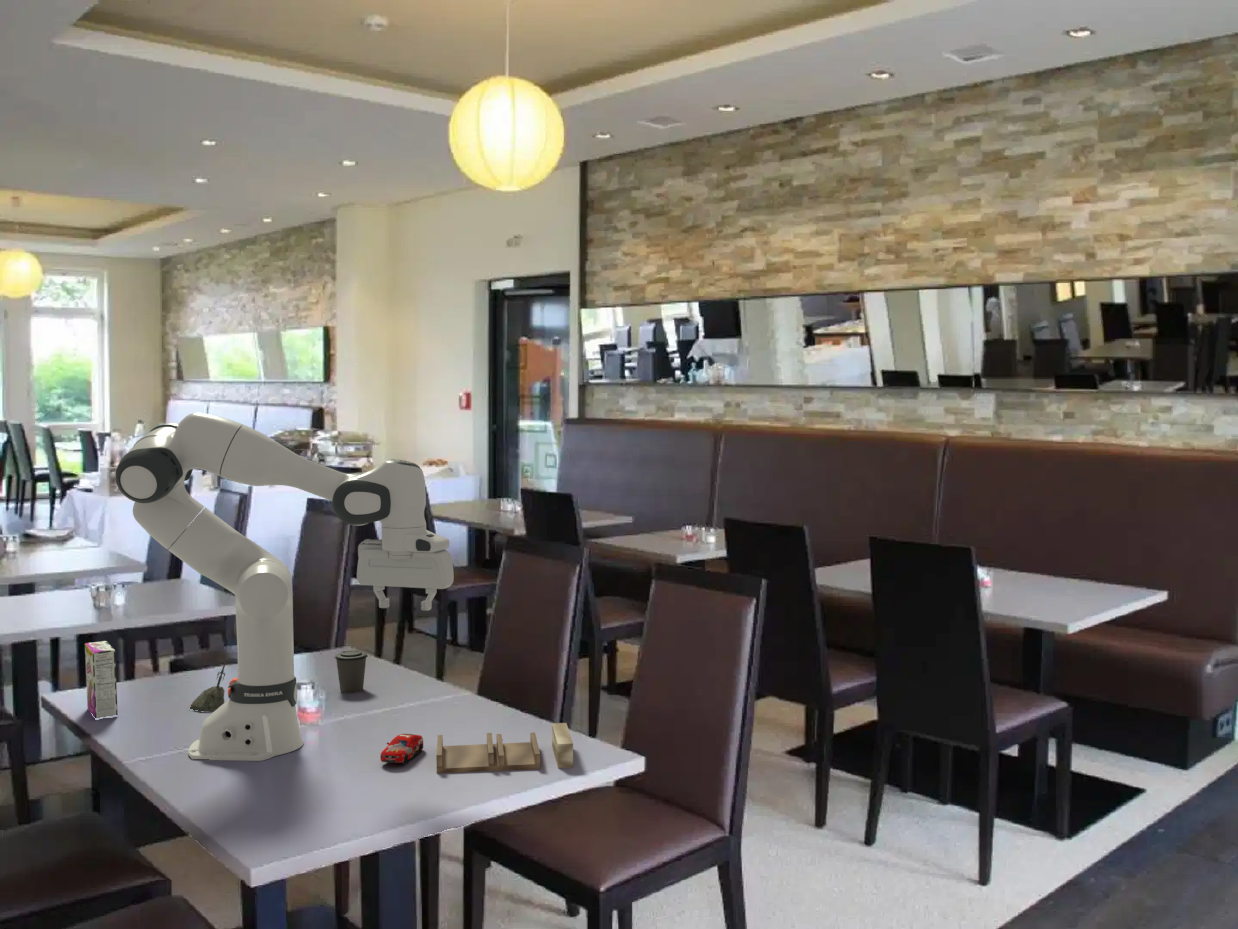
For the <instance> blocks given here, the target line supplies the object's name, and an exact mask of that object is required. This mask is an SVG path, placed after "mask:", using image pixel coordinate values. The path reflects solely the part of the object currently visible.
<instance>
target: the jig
mask: <svg viewBox="0 0 1238 929" xmlns="http://www.w3.org/2000/svg"><path fill="white" fill-rule="evenodd" d="M529 734H530V737H529V740H530V741H525V742H508V743H507V742H505V743H504V742H503V738H502V737H503V736H502V734H501V733H497V734H496V743H494V742H493V733H492V732H486V743H484V744H483V743H481V744H461V745H459V744H458V745H444V738H443V737H444V735H443V734H438V735H437V743H436V758H435V759H436V774H449V773H451V774H453V773H456V774H457V773H476V772H477V773H479V772H499V771H500V772H501V771H502V772H503V771H522V770H524V771H525V770H527V771H528V770H540V769H541V753H540V748H539V743H538V739H537V734H536V732H530V733H529Z"/></svg>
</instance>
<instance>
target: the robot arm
mask: <svg viewBox="0 0 1238 929" xmlns="http://www.w3.org/2000/svg"><path fill="white" fill-rule="evenodd" d="M193 470H203V471H206V472H209V473H211V474H214V475H216V476H218V477H221V478H224V479H226V480H229V481H230V482H235V483H239V484H242V485H243V484H244V485H248V486H253V487H264V486H285V487H292V488H295V489H299V490H301V491H304V492H306V493H310V494H312V495H315V496H318V497H320V498H322V499H326V500H328V501H331V503H332V509H333V512H334V514H335V515H336V517H337V518H338V519H339V520H340V521H341V522H343V523H345V524H347V525H351V526H357V527H359V526H365V525H368V524H370V523H376V522H380V524H381V525H380V526H381V538H380V539H371V538H366V539H364V540H362V541H360V543H359V544H358V546H357V556H358V560H357V568H356V580H357V582H358V584H359V585H360V586H373V593H374V595H375V597H376V598H377V600H378V607H379V609H380V608H381V609H388V608H390V604H391V603H390V597H386V595H385V593H384V590H385V589H386V588H385V587H397V588H415V589H425V594H427V596H426V598H425V600H422V601H420V610H421V611H428V612H429V611H430V610H432V608H433V607H432V604H433V602H432V601H433V600H434V598H435V596H436V595H437V592H438V591H437V590H444V589H445V590H446V589H448V588H450V587H451V586H452V585H453V583H454V580H455V579H454V578H455V577H454V571H455V570H454V563H453V558H452V555H451V552H450V551H448V550H447V549H449V547H450V539H449V538H447V537H445V536H442V535H440V534H437V533H434V532H432V531H430V530H428V529H427V522H426V521H427V520H426V518H425V510H426V506H427V493H426V481H425V474H424V471H423V469H422V468H421V467H420V466H419V465H418V464H417V463H415V462H412V461H409V460H404V459H394V458H393V459H392V458H390V459H386V460H384V461H383V462H382V463H381V464H379V465H377V466H375V467H374V468H372V469H370V470H368V471H365V472H344V471H341V470H338V469H335V468H331V467H329V466H326V465H324V464H321V463H319V462H316V461H313V460H311V459H308V458H307V457H304V456H301V455H299V454H297V453H295V452H294V451H292V450H291V449H290V448H287V447H286V446H284V445H282V444H281V443H279V442H278V441H276V440H274V439H273V438H271V437H270V436H268V435H266V434H264V433H263V432H261V431H259V430H257V429H255V428H253V427H249V426H248V425H245V424H243V423H239V422H237V421H235V420H233V419H232V420H231V419H229V418H225V417H222V416H217V415H214V414H211V413H210V414H209V413H204V412H191V413H189V414H188V415H186V416H185V417H184V418H182V420H181V421H180V422H179V423H177V422H168V423H163V424H160V425H157V426H155V427H154V428H152V429H151V430H150V431H149V432H148V433H146V434H145V435H143V436H142V437H141V438H140V439H138V440H137V441H136V442H135V443H134V445H133V446H132V447H131V448H130V450H129V451H128V452H127V453H126V454H124V455H123V457H122V458H121V459H120V461H119V462H118V464H117V467H116V469H115V482H116V486H117V488H118V490H119V491H120V493H121V494H122V495H123V496H125V497H126V498H127V499H129V500H130V501H132V502H134V503H133V505H132V506H133V507H132V515H133V518H134V519H135V521H136V522H137V523H138V524H139V525H140V526H141V527H142V528H143V530H145V532H146V533H147V534H148V535H149V536H150V537H152V538H153V539H154V540H155V541H156V542H157V543H159V545H161V546H162V547H163V548H165V549H166V550H168V552H170V553H171V554H173V555H174V556H175V557H177V558H178V559H179V560H181V561H182V562H183V563H185V564H186V565H187V566H189V567H190V568H191V569H193V570H195V572H197V573H198V574H199V575H202V576H204V577H206V578H207V579H210V580H211V581H213V582H214V583H216V584H218V585H219V586H221V587H223V588H224V589H226V590H227V591H229V592H230V593H232V594H233V595H234V600H235V602H234V605H235V624H236V642H237V646H236V647H237V677H233V678H232V679H231V680H230V681H229V683H228V687H227V695H228V698H229V699H227V701H224V704H223V705H221V706H220V707H219V708H218V709H217V710H215V711H214V712H211V714H209V715H208V716H207V717H206V718H205V719H204V721H203V723H202V726H201V729H200V733H199V738H198V739H195V741H193V742H192V743H191V744H190V746H189V747H188V750H187V755H188V754H189V756H190V757H191V758H192V759H191V760H193V759H209V760H208V761H236V762H237V761H239V762H241V761H242V762H245V761H246V762H249V761H250V762H256V761H257V762H262V761H266V760H268V759H271V758H273V757H276V756H280V755H281V756H282V755H284V754H288V753H291V752H294V751H296V750H299V749H300V748H301V747H302V746H303V745H304V739H303V737H302V736H303V735H302V733H301V729H300V725H299V719H298V712H297V706H296V705H297V702H298V683H297V677H296V676H295V664H294V662H295V660H294V658H295V657H294V648H295V647H294V609H293V608H294V603H293V602H294V598H293V596H294V595H293V592H294V591H293V581H292V574H291V571H290V570H289V568H288V566H287V565H286V564H285V563H284V562H283V561H281V559H279V558H278V557H276V556H275V555H273V554H272V553H270V552H269V551H268V550H266V549H265V548H263V547H262V546H260V545H259V544H257V543H256V542H254V541H253V540H252V539H250V538H248V537H247V536H245V535H244V534H241V533H240V532H239V531H237V530H236V529H235V528H233V527H232V526H231V525H229V524H228V523H227V522H226V521H224V520H223V519H222V518H220V517H219V516H218V515H216V513H214V512H212V511H211V510H210V509H208V508H207V507H205V506H204V505H203V504H202V503H201V502H199V501H198V500H196V499H195V498H194V497H193V496H191V494H189V492H188V491H187V489H186V486H185V481H188V480H190V478H191V476H192V473H193Z"/></svg>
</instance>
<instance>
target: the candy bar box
mask: <svg viewBox="0 0 1238 929" xmlns="http://www.w3.org/2000/svg"><path fill="white" fill-rule="evenodd" d="M84 654H85V656H84V657H85V676H86V680H85V681H86V683H85V684H86V699H87V700H86V701H87V703H86V704H87V710H88V709H89V711H90V712H91V713H92V714H93V716H94V717H95V718H100V717H106V716H113V715H118V711H119V710H118V688H117V668H116V664H117V663H116V650H115V649H114V648H113V646H111V644H110V643H109V642H108V641H107V640H102V641H94V642H85V643H84ZM89 711H88V712H89ZM90 712H89V713H90Z"/></svg>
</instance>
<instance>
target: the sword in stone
mask: <svg viewBox="0 0 1238 929" xmlns="http://www.w3.org/2000/svg"><path fill="white" fill-rule="evenodd" d="M227 661H228V658H227V657H226V658H224V661H223V665H222V669H221V670H220V671H218V672H217V675H216V676H217V677H216V679H217V684H216V686H215V685H214V686H211V687H209V688H207V689H205V690H202V692H201V693H200V694H199V695H198V696H197V697H196V698H195V699H193V700H194V701H192V703H191V704H190V706H191V707H190V706H189V707H190V709H193V710H198V711H215V710H217V709H218V708H219V707H220V706H221V705H223V704H224V703H225V689H224V687H223V686H220V683H221V681H222V682H223V681H224V679H225V676H226V673H225V672H224V670H225V668H226V663H227Z"/></svg>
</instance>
